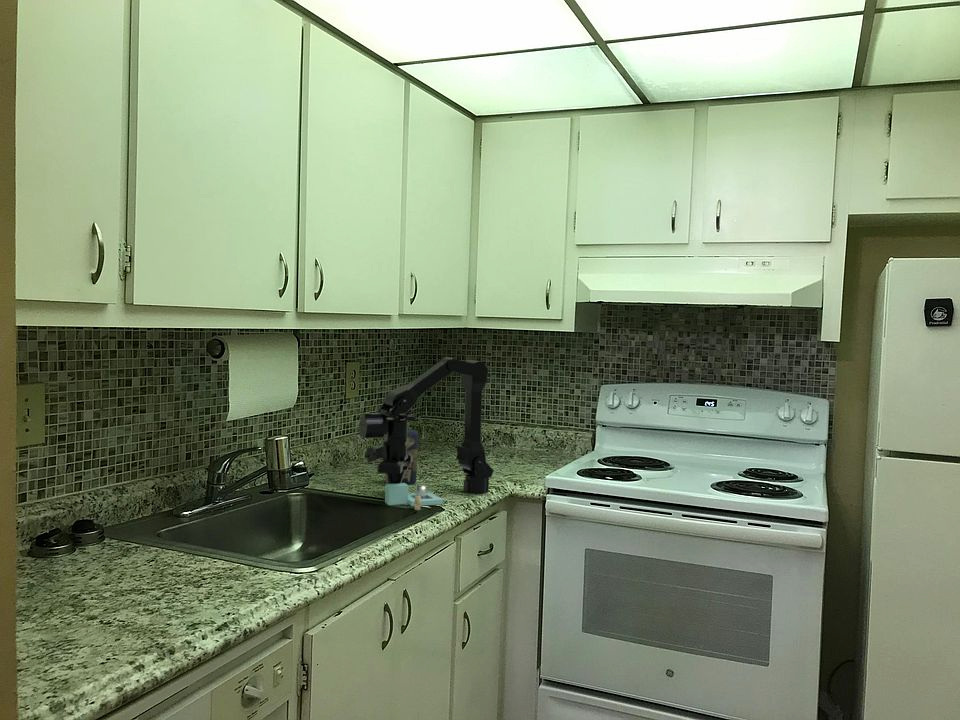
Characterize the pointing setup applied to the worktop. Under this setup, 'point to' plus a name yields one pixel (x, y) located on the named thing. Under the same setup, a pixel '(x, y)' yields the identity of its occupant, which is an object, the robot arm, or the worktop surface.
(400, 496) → the flange
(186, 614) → the worktop surface
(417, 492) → the post
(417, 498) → the dowel
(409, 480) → the canister
